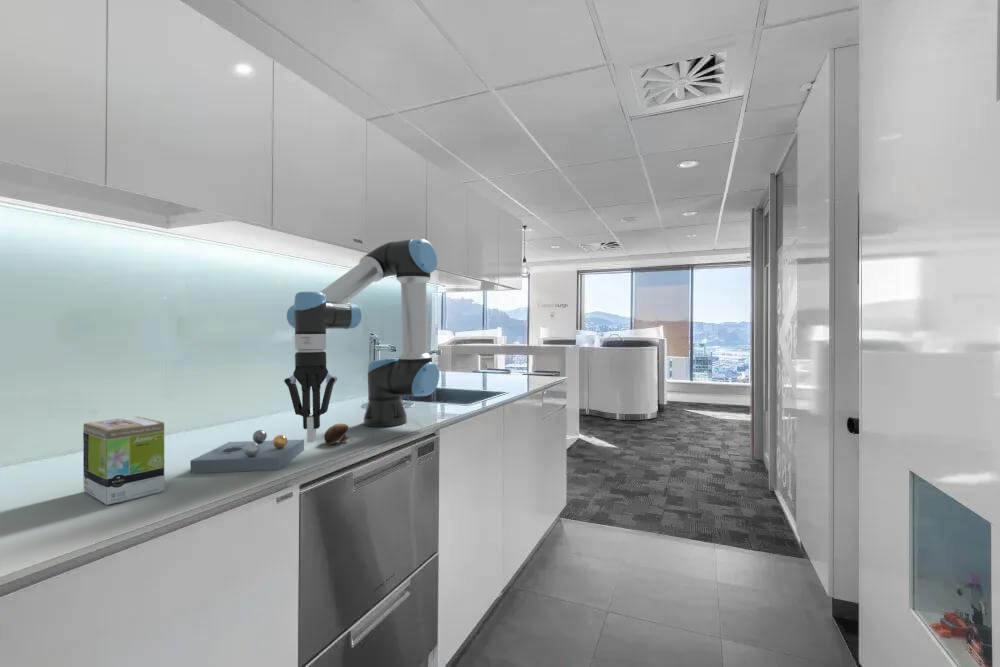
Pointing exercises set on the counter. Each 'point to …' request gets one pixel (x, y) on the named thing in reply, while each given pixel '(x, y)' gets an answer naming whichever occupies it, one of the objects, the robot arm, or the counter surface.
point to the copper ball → (280, 441)
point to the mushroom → (336, 434)
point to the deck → (246, 457)
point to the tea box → (123, 459)
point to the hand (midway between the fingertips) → (311, 441)
